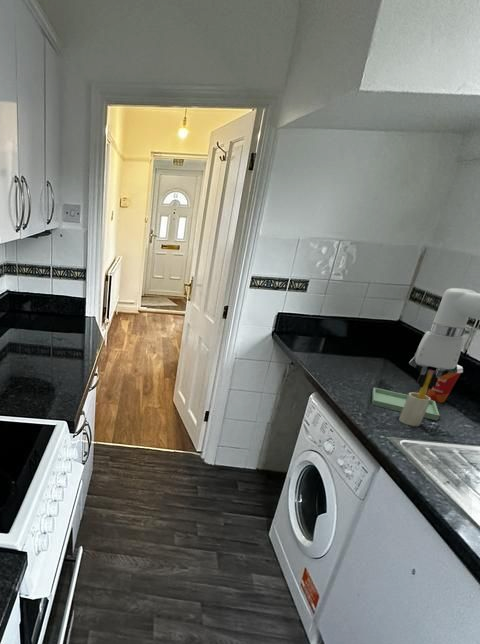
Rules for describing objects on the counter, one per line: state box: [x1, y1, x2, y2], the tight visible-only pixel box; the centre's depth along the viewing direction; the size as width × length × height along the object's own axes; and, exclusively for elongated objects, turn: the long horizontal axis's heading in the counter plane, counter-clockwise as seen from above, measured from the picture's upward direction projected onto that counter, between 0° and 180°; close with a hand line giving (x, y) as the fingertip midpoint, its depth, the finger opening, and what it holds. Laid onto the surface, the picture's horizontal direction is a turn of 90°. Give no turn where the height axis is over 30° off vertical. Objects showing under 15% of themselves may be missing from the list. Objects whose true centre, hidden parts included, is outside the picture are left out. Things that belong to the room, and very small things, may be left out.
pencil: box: [417, 369, 436, 399], centre depth 132 cm, size 2×2×16 cm
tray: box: [371, 387, 441, 422], centre depth 149 cm, size 19×14×2 cm
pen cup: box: [398, 391, 431, 427], centre depth 135 cm, size 6×6×10 cm
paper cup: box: [426, 364, 464, 403], centre depth 153 cm, size 8×8×14 cm
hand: (425, 386), depth 131 cm, fingers closed on pencil, 1 cm apart
